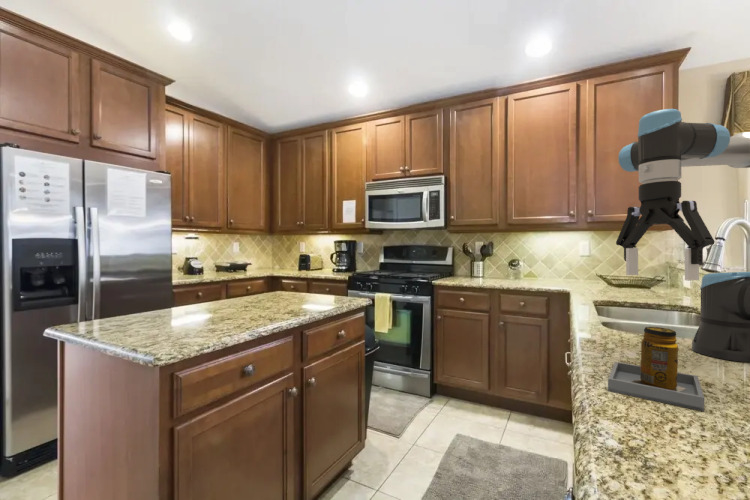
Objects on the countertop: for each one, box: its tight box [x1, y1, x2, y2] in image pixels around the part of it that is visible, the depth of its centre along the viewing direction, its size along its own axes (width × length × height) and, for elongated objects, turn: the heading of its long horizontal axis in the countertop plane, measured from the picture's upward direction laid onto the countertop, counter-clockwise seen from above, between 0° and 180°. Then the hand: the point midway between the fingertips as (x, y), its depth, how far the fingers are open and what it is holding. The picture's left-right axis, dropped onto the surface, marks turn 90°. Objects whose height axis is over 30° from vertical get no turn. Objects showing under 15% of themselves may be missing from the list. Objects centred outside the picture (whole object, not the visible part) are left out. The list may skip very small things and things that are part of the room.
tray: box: [607, 361, 705, 412], centre depth 76 cm, size 15×15×2 cm
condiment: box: [632, 326, 685, 392], centre depth 75 cm, size 7×8×12 cm
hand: (659, 277), depth 81 cm, fingers open, 13 cm apart
